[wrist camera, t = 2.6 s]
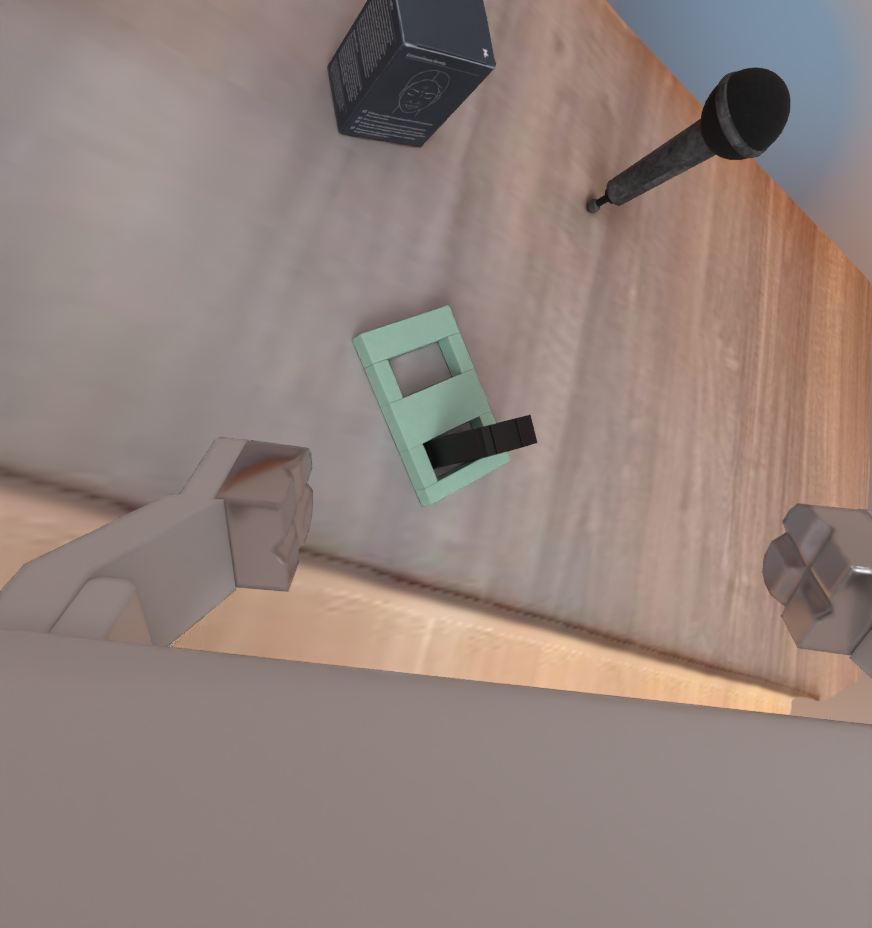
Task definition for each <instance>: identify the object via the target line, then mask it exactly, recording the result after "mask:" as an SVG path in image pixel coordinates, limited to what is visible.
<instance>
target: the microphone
mask: <svg viewBox="0 0 872 928" xmlns="http://www.w3.org/2000/svg"><path fill="white" fill-rule="evenodd" d="M789 113H790V95H789V91H788V88H787V86H786V84H785V82H784V81H783V80H782V79H781V78H780V77H779V76H778V75H777V74H776V73H774V72H772V71H770V70H767V69H763V68H747V69H743V70H740V71H737V72H732V73H729V74H727V75H725V76H724V77H723V78H722V80H721V81H720V82H719V84H718V85H717V86H716V87H715V88H714V90H713V91H712V92H711V94H710V95H709V97H708V99H707V100H706V102H705V105H704V108H703V111H702V115H701V119H700V120H698V121H697V122H695V123H694V124H692V125H691V126H689V127H688V128H686V129H685V130H684V131H682V132H681V133H679V134H678V135H676V136H675V137H673V138H672V139H670V140H669V141H667V142H666V143H664V144H663V145H661V146H660V147H659V148H657V149H656V150H654V151H653V152H651V153H650V154H648V155H647V156H645V157H644V158H642V159H641V160H639V161H638V162H636V163H635V164H634V165H632V166H631V167H629V168H628V169H626V170H625V171H623V172H622V173H620V174H619V175H617V176H616V177H614V178H613V179H612V180H610V181H609V182H608V183H607V189H606V190H605V195H604V196H603V197H601V198H599V199H598V200H597V199H592V200H590V201H589V203H588V205H587V208H588V210H589V211H590V212H592V213H595V212H597V211H598V210H599V209H600V206H601V205H603V204H605V203H606V202H609V203H611V204H615V205H618V206H620V205H622V204H624V203H626V202H628V201H630V200H632V199H633V198H635V197H637V196H639V195H641V194H643V193H645V192H647V191H648V190H650V189H652V188H654V187H656V186H658V185H660V184H662V183H664V182H665V181H667V180H669V179H671V178H673V177H675V176H677V175H679V174H681V173H682V172H684V171H686V170H688V169H690V168H692V167H694V166H696V165H698V164H699V163H701V162H703V161H705V160H707V159H709V158H711V157H713V156H714V155H718V156H719V157H722V158H725V159H729V160H742V159H747V158H754V157H758V156H760V155H761V154H762V153H763V152H765V151H766V150H767V148H768V147H769V146H770V145H771V144H772V143H773V142H774V141H775V140H776V139H777V138H778V137H779V135H780V134H781V133H782V131H783V129H784V126H785V124H786V122H787V120H788V116H789Z"/></svg>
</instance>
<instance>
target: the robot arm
mask: <svg viewBox="0 0 872 928" xmlns="http://www.w3.org/2000/svg"><path fill="white" fill-rule="evenodd" d="M311 471H312V457H311V451H310V449H309V448H306V447H298V446H291V445H283V444H276V443H268V442H261V441H253V440H251V441H249V440H245V439H236V438H227V437H219V438H217V439H215V440H214V441H213V443H212V445H211V446H210V448H209V449H208V451H207V452H206V454H205V455H204V457H203V458H202V460H201V461H200V463H199V464H198V466H197V467H196V469H195V471H194V472H193V474H192V475H191V477H190V478H189V480H188V481H187V483H186V484H185V486H184V487H183V489H182V490H181V492H180V493H179V495H177V494H168V495H166V496H164V497H162V498H160V499H158V500H156V501H154V502H152V503H150V504H147V505H145V506H143V507H141V508H139V509H137V510H135V511H133V512H131V513H129V514H127V515H125V516H123V517H121V518H119V519H116V520H114V521H112V522H110V523H108V524H106V525H104V526H102V527H100V528H98V529H96V530H94V531H92V532H90V533H88V534H86V535H83V536H81V537H79V538H77V539H75V540H73V541H71V542H69V543H67V544H65V545H63V546H61V547H59V548H57V549H55V550H52V551H50V552H48V553H46V554H44V555H42V556H40V557H38V558H36V559H34V560H32V561H30V562H28V563H26V564H24V565H23V566H22V567H21V568H20V569H19V570H18V572H17V573H16V574H15V575H14V576H13V577H12V578H11V580H10V581H9V582H8V583H7V584H6V585H5V587H4V588H3V589H2V590H1V591H0V928H872V724H863V723H854V722H845V721H835V720H827V719H818V718H809V717H801V716H791V715H783V714H774V713H765V712H756V711H747V710H738V709H729V708H721V707H712V706H703V705H694V704H684V703H675V702H666V701H657V700H648V699H639V698H630V697H620V696H611V695H602V694H593V693H584V692H575V691H566V690H557V689H547V688H538V687H529V686H520V685H511V684H502V683H493V682H483V681H474V680H465V679H456V678H447V677H438V676H429V675H420V674H411V673H402V672H393V671H384V670H374V669H365V668H356V667H347V666H338V665H329V664H320V663H311V662H302V661H293V660H284V659H275V658H265V657H256V656H247V655H238V654H229V653H220V652H211V651H202V650H193V649H184V648H175V647H168V646H169V645H170V644H171V643H172V642H174V641H175V640H176V639H177V638H179V637H180V636H181V635H182V634H183V633H185V632H186V631H187V630H188V629H189V628H191V627H192V626H193V625H194V624H195V623H197V622H198V621H199V620H200V619H202V618H203V617H204V616H205V615H206V614H208V613H209V612H210V611H211V610H212V609H214V608H215V607H216V606H217V605H218V604H220V603H221V602H222V601H223V600H225V599H226V598H227V597H228V596H229V595H231V594H232V593H233V592H234V591H235V590H236V587H239V588H251V589H263V590H275V591H287V592H288V591H289V588H290V586H291V583H292V580H293V577H294V574H295V571H296V568H297V566H298V563H299V557H298V548H299V547H300V546H302V545H303V544H305V542H306V539H307V536H308V533H309V529H310V524H311V518H312V509H313V490H312V488H311V487H310V486H309V485H308V484H307V482H308V479H309V476H310V474H311ZM783 524H784V528H785V531H786V533H784V534H783V535H781V536H779V537H778V538H776V539H774V540H773V541H771V543H770V545H769V547H768V549H767V551H766V553H765V555H764V561H763V571H762V572H763V577H764V582H765V585H766V587H767V589H768V591H769V593H770V595H771V596H772V597H774V598H775V599H776V600H777V601H779V602H780V603H781V604H782V605H784V606H785V607H784V610H783V612H782V614H781V617H782V619H783V621H784V623H785V625H786V627H787V628H788V630H789V632H790V634H791V636H792V638H793V640H794V642H795V644H796V646H797V648H800V649H808V650H815V651H822V652H829V653H837V654H844V655H851V656H850V657H849V658H850V659H851V660H852V661H854V662H855V663H856V664H857V665H858V666H859V667H860V668H861V669H862V670H863V671H864V672H865V673H866V674H867V675H868V676H870V677H871V678H872V510H867V509H858V510H857V509H848V508H838V507H828V506H818V505H808V504H798V503H797V504H796V505H795V506H794V507H793V508H791V509H790V510H789V512H788V513H787V515H786V517H785V518H784V520H783Z"/></svg>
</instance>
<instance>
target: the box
mask: <svg viewBox="0 0 872 928" xmlns="http://www.w3.org/2000/svg"><path fill="white" fill-rule="evenodd" d="M495 66H496V63H495V59H494V54H493V49H492V44H491V38H490V33H489V27H488V22H487V17H486V12H485V7H484V3H483V0H367V2H366V3H365V5H364V7H363V9H362V10H361V12H360V13H359V15H358V17H357V18H356V20H355V22H354V24H353V25H352V27H351V28H350V30H349V32H348V34H347V35H346V37H345V38H344V40H343V42H342V43H341V45H340V46H339V48H338V50H337V51H336V53H335V55H334V56H333V58H332V60H331V61H330V63H329V65H328V73H329V79H330V83H331V89H332V95H333V100H334V105H335V111H336V116H337V122H338V127H339V132H340V133H341V134H346V135H353V136H359V137H364V138H370V139H377V140H382V141H388V142H394V143H401V144H406V145H412V146H418V147H421V146H422V145H423V144H424V143H425V142H426V141H427V140H428V139H429V138H430V137H431V136H432V135H433V134H434V132H435V131H436V130H437V129H438V128H439V127H440V126H441V125H442V124H443V123H444V122H445V121H446V120H447V118H448V117H449V116H450V115H451V114H452V113H453V112H454V111H455V110H456V109H457V108H458V107H459V106H460V105H461V104H462V103H463V101H465V99H466V98H467V97H468V96H469V95H470V94H471V93H472V92H473V91H474V90H475V89H476V88H477V87H478V85H479V84H480V83H481V82H482V81H483V80H484V79H485V78H486V77H487V76H488V75H489V74H490V72H491V71H492V70H494V69H495Z"/></svg>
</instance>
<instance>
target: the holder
mask: <svg viewBox="0 0 872 928" xmlns="http://www.w3.org/2000/svg"><path fill="white" fill-rule="evenodd" d="M352 341H353V343H354V345H355V348H356V350H357V353H358V355H359V357H360V360H361V362H362V364H363V367H364V368H365V372H366V374H367V376H368V379H369V381H370V384H371V386H372V388H373V391H374V393H375V396H376V398H377V400H378V403H379V405H380V407H381V410H382V413H383V415H384V417H385V420H386V422H387V425H388V427H389V429H390V432H391V434H392V436H393V439H394V441H395V444H396V446H397V448H398V451H399V452H400V455H401V458H402V460H403V463H404V465H405V467H406V470H407V472H408V474H409V477H410V479H411V482H412V484H413V486H414V489H415V491H416V493H417V496H418V498H419V500H420V503H421V505H422V506H424V505H432V504H434V503H436V502H438V501H439V500H441V499H443V498H445V497H447V496H448V495H450V494H452V493H454V492H455V491H457V490H459V489H461V488H463V487H464V486H466V485H468V484H470V483H472V482H473V481H475V480H477V479H479V478H480V477H482V476H484V475H486V474H488V473H489V472H491V471H493V470H495V469H497V468H498V467H500V466H502V465H504V464H506V463H507V462H509V461H510V458H509V455H508V453H507V452H504V453H501V454H497V455H493V456H490V457H485V458H481V459H475V460H470V461H469V462H467V463H465V464H463V465H461V466H459V467H457V468H455V469H454V470H452V471H450V472H448V473H446V474H444V475H442V476H440V477H438V478H436V475H435V473H434V470H433V468H432V465H431V463H430V461H429V458H428V456H427V453H426V451H425V449H424V446H423V443H425V442H427V441H429V440H431V439H433V438H435V437H437V436H439V435H441V434H443V433H445V432H447V431H450V430H452V429H454V428H456V427H458V426H460V425H462V424H464V423H466V422H468V421H470V423H471V425H472V428H473V429H476V428H480V427H483V426H487V425H491V424H495V423H496V422H495V420H494V417H493V414H492V412H491V409H490V407H489V404H488V402H487V399H486V397H485V394H484V392H483V389H482V387H481V384H480V382H479V379H478V377H477V374H476V371H475V369H474V367H473V364H472V362H471V359H470V357H469V354H468V351H467V349H466V346H465V344H464V341H463V339H462V336H461V334H460V333H459V329H458V326H457V324H456V321H455V319H454V316H453V314H452V311H451V309H450V306H449V305H447V306H444V307H440V308H437V309H434V310H431V311H428V312H425V313H422V314H419V315H416V316H413V317H410V318H407V319H404V320H401V321H398V322H395V323H392V324H389V325H386V326H383V327H380V328H377V329H374V330H371V331H368V332H365V333H362V334H360V335H358V336H356V337H355V338H353V339H352ZM435 342H438V343H439V345H440V348H441V350H442V353H443V355H444V358H445V360H446V363H447V365H448V368H449V370H450V373H451V375H452V378H450V379H447V380H445V381H442V382H440V383H438V384H435V385H433V386H430V387H428V388H426V389H423V390H421V391H419V392H416V393H414V394H411V395H409V396H407V397H404V398H403V396H402V393H401V391H400V388H399V386H398V384H397V381H396V379H395V376H394V374H393V371H392V369H391V367H390V364H389V362H388V360H389V359H392V358H394V357H397V356H400V355H403V354H405V353H408V352H411V351H413V350H416V349H419V348H422V347H424V346H427V345H430V344H432V343H435Z"/></svg>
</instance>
